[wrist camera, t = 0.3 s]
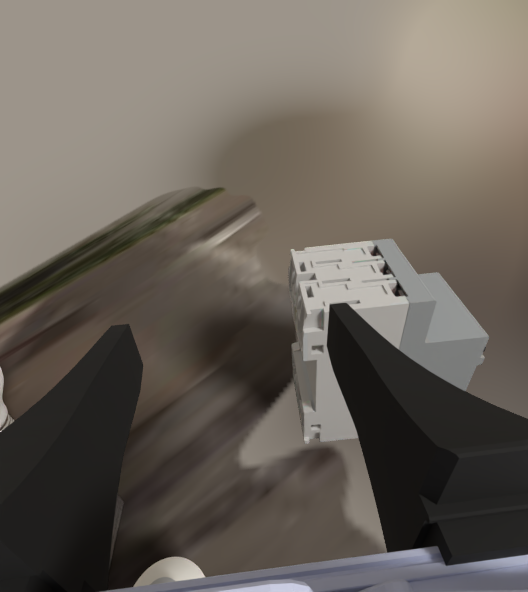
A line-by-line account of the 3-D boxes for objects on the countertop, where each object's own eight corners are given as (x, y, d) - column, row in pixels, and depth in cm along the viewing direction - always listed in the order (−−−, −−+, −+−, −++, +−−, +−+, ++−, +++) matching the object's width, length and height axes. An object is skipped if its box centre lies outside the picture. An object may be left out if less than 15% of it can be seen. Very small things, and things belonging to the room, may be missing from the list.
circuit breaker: (468, 425, 31) (536, 289, 22) (304, 443, 31) (302, 314, 22) (430, 359, 37) (472, 230, 28) (292, 374, 37) (287, 249, 27)
